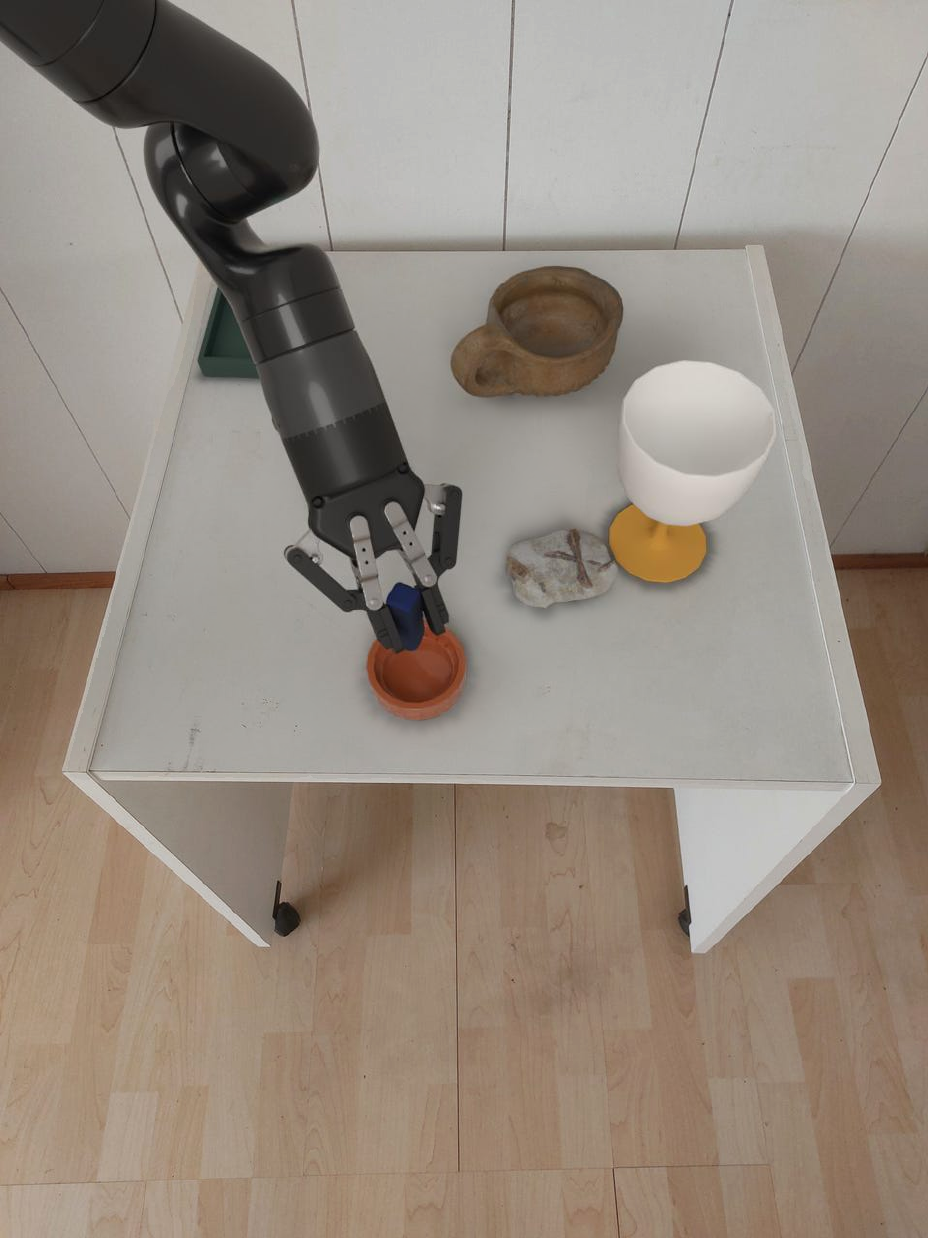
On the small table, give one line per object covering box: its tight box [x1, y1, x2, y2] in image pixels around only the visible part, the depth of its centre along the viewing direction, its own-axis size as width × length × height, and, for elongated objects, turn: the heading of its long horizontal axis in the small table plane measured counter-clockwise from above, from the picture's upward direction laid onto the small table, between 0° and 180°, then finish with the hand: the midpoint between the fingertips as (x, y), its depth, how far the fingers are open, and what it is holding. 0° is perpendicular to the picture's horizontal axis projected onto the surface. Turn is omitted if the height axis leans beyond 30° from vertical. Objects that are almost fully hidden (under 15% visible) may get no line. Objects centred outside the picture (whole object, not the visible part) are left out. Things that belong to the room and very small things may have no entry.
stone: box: [505, 528, 619, 609], centre depth 76 cm, size 10×7×3 cm
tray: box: [196, 286, 260, 379], centre depth 92 cm, size 15×9×2 cm, turn 177°
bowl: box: [450, 265, 624, 399], centre depth 85 cm, size 18×14×10 cm
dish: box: [365, 619, 468, 721], centre depth 72 cm, size 8×8×3 cm
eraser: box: [385, 581, 425, 651], centre depth 64 cm, size 2×2×7 cm
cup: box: [608, 359, 778, 584], centre depth 72 cm, size 12×12×17 cm
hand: (418, 639), depth 63 cm, fingers closed on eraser, 2 cm apart
